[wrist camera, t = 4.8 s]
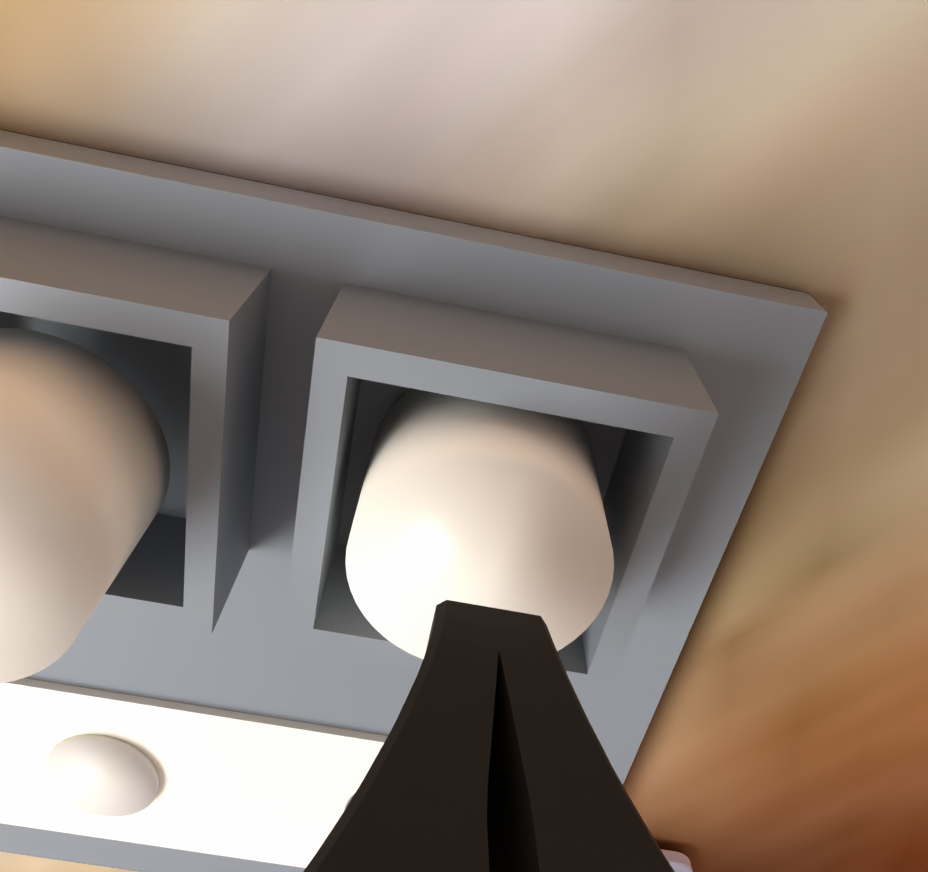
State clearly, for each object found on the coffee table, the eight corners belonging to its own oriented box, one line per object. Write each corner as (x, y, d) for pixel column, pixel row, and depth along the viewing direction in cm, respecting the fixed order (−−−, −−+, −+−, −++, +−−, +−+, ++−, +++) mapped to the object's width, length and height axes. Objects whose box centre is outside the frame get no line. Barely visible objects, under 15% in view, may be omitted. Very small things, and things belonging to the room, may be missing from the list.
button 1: (560, 572, 16) (574, 687, 13) (358, 536, 15) (331, 647, 13) (618, 391, 14) (648, 484, 11) (388, 347, 14) (363, 431, 11)
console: (556, 896, 23) (565, 1032, 20) (-336, 764, 21) (-472, 890, 18) (807, 292, 14) (892, 372, 11) (-662, -5, 13) (-1021, -5, 10)
